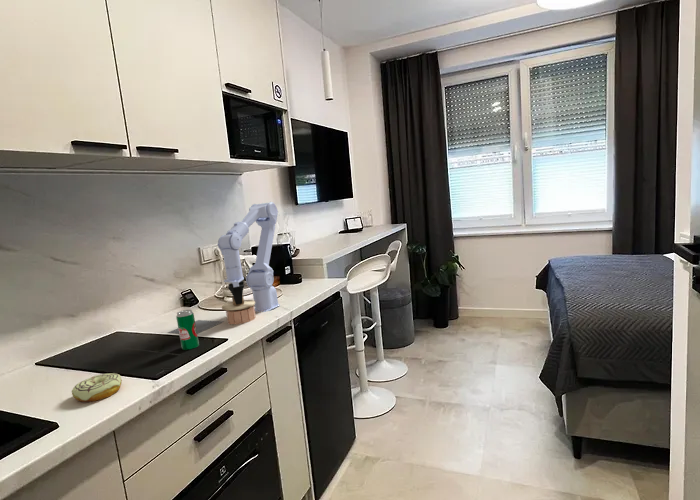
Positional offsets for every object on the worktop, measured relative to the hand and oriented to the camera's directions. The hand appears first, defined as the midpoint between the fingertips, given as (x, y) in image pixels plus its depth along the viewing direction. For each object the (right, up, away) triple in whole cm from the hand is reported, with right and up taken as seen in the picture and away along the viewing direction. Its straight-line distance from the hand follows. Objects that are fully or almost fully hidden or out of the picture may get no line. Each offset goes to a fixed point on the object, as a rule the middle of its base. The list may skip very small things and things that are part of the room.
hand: (239, 302), depth 149 cm
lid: (0, -1, 0) cm, 1 cm away
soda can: (-9, -12, -23) cm, 27 cm away
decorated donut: (-21, -17, -49) cm, 56 cm away
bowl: (+1, -7, +1) cm, 7 cm away
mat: (-15, -9, -1) cm, 18 cm away
